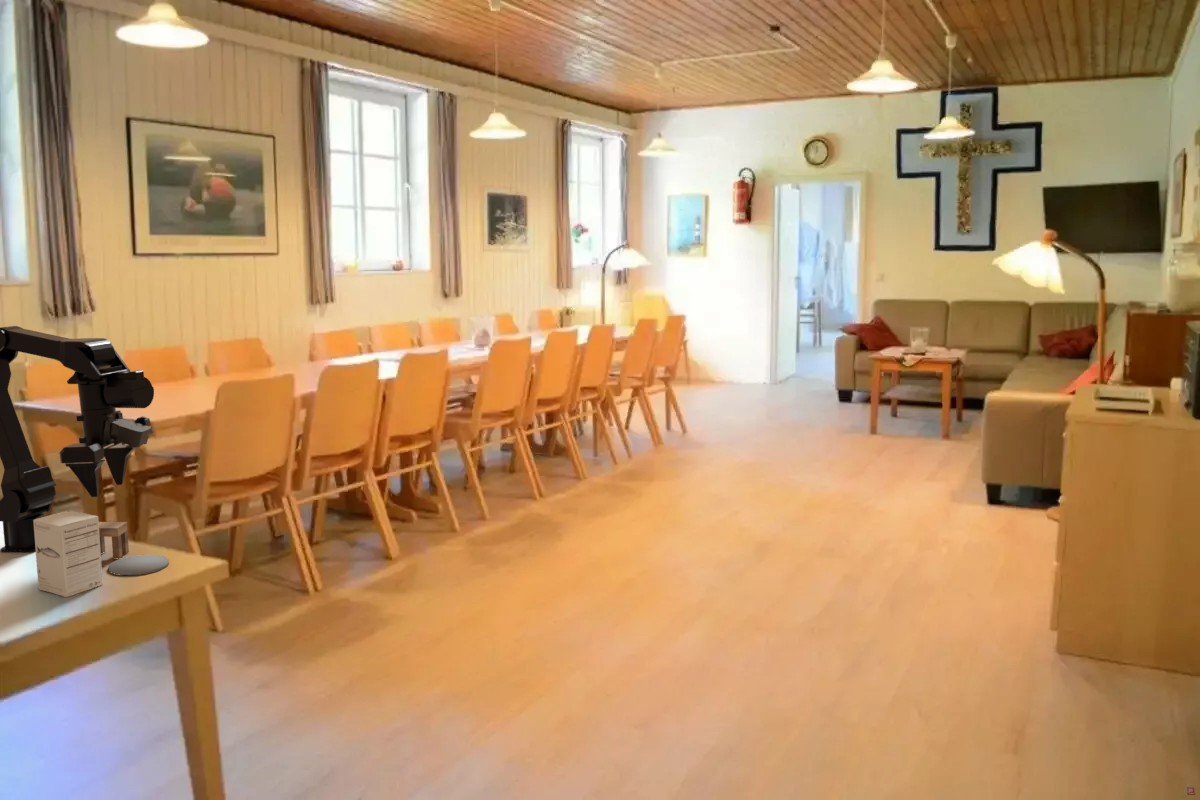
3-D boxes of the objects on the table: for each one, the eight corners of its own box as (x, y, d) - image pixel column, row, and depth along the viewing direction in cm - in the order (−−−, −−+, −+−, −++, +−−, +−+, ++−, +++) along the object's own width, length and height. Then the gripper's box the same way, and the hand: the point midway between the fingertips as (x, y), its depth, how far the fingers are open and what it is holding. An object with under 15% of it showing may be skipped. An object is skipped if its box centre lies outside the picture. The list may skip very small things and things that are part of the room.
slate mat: (98, 575, 178) (98, 572, 178) (123, 557, 188) (122, 554, 188) (155, 575, 179) (155, 572, 179) (177, 557, 189) (177, 554, 188)
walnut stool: (89, 559, 187) (86, 528, 186) (99, 552, 191) (96, 521, 190) (119, 559, 187) (117, 528, 186) (128, 552, 191) (126, 522, 190)
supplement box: (37, 590, 171) (31, 519, 169) (77, 577, 177) (71, 508, 175) (64, 598, 167) (59, 525, 165) (104, 585, 174) (99, 514, 172)
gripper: (116, 415, 174) (126, 502, 177) (164, 398, 193) (172, 477, 195) (53, 417, 174) (63, 504, 177) (106, 400, 193) (115, 479, 195)
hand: (107, 490), depth 186 cm, fingers open, 9 cm apart
